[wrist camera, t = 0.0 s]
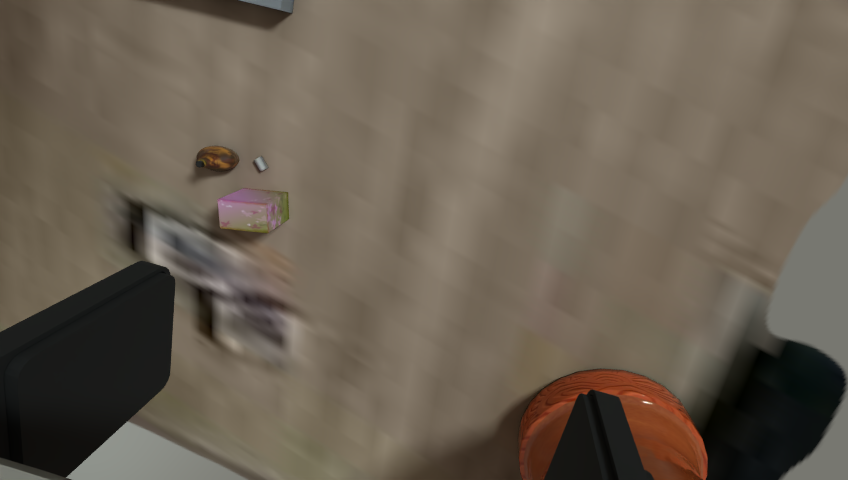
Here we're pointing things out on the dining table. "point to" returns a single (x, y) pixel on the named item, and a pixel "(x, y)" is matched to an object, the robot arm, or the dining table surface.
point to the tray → (274, 4)
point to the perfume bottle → (245, 196)
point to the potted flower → (646, 414)
